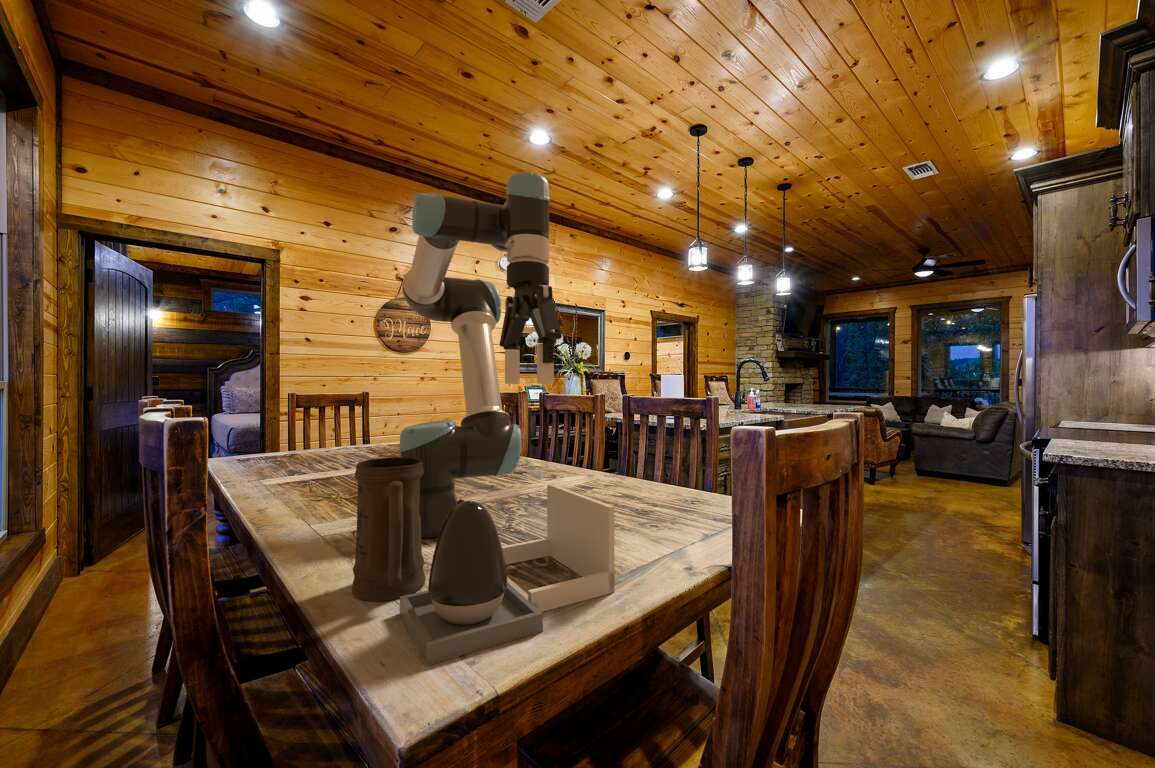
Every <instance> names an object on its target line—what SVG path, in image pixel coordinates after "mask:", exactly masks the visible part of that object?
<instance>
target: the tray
mask: <svg viewBox="0 0 1155 768" xmlns="http://www.w3.org/2000/svg"><path fill="white" fill-rule="evenodd" d="M399 615H400V618H401V619H402V621H403V623H404V625H405V626H406V629H407V632H408V633H409V635H410V637H411V638H412V640H413V642H414V644H415V646H416V649H417V651H418V652H419V654H420V657H421V659H422V660H423V662H424V664H425V666H426V667H428V666H431V665H434V664H439V663H442V662H444V661H449V660H451V659H454V658H455V659H456V658H458V657H461V656H465V655H468V654H472V653H474V652H475V653H476V652H478V651H481V650H485V649H489V648H491V647H495V646H499V645H502V644H506V643H508V642H512V641H515V640H518V639H522V638H525V637H529V636H532V635H535V634H539V633H542V632H543V630H544V629H543V628H544V623H543V622H544V615H543V612H541V611H539V610H538V609H537V608H536V607H535V606H534V605H533V604H531V603H530V602H529V601H528V600H527V599H526V598H525V597H524V596H522V595H521V594H520V593H519V592H518V591H517V590H516V589H514V588H513V587H512V586H511V585H510V584H509V583H508V582H507V589H506V591H505V592H504V596H503V599H502V602H501V604H500V606H499V607H498V609H497V610H496V611H495V612H494V613H493V614H492V615H491V616H490V617H488V618H487V619H485V620H483V621H481V622H478V623H475V624H469V625H459V624H453V623H450V622H448V621H446V620H444V619H443V618H442V617H440V616H439V614H438V613H437V612H436V610H435V608H434V606H433V603H432V599H431V598H430V596H429V593H428V590H424V591H420V592H414V593H412V594H409V595H405V596H400V598H399Z"/></svg>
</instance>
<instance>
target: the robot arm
mask: <svg viewBox="0 0 1155 768" xmlns="http://www.w3.org/2000/svg"><path fill="white" fill-rule="evenodd" d="M549 189H550V186H549V182H548V180H547V178H545V177H544V176H542V175H541V174H538V173H536V172H535V173H534V172H530V171H529V172H526V171H524V172H517V173H514V174H512V175H510V177H508V179H507V182H506V191H505V194H506V201H505V202H504V203H503V204H496V203H492V202H491V203H490V202H484V201H478V200H470V199H467V198H466V199H464V198H461V197H460V198H459V197H454V196H448V195H443V194H439V193H429V192H427V193H426V192H418V193H416V194H415V196H414V197H413V203H412V204H413V205H412V211H411V212H412V213H411V214H412V215H411V217H412V218H411V220H412V221H411V222H412V223H411V224H412V230H413V232H414V234H416V235H417V236H418V238H417V242H416V246H415V251H414V254H413V259H412V262H411V267H410V270H408V271H407V272H406V273H405V276H404V277H403V281H402V285H401V286H402V287H401V288H402V289H401V290H402V294H403V297H404V300H405V302H406V303H407V304H408V305H409V307H410V308H411V309H412V310H413V311H414V312H415V313H417V315H419V316H421V317H422V318H425V319H427V320H429V321H435V322H442V323H450V326H451V330H452V331H453V332H454V333H455V334H457V336H458V338H457V339H458V345H459V354H460V355H459V356H460V366H461V375H462V385H463V394H464V402H465V403H464V406H465V413H466V414H465V415H464V417H462V419H460V420H461V421H460V425H459V426H456V422H455V421H454V420H453V419H451V420H447V419H446V420H445V419H444V420H436V421H428V422H422V423H418V424H413V425H409V426H406V427H405V428H403V429H402V430H401V432H400V434H399V447H398V452H399V457H406V458H416V459H419V460H421V461H422V465H423V470H424V473H423V475H422V476H421V478H420V495H419V498H420V501H419V516H420V518H421V539H428V538H436V537H437V538H438V537H439V534H440V531H441V528H442V526H443V523H444V521H445V519H446V517H447V516H448V514H449V513H450V511H451V510H452V509H453V508H454V507H455V506H456V505H457V501H458V500H459V499H458V497H457V496H456V495H457V494H456V491H455V489H456V488H455V487H456V486H455V480H456V479H465V478H479V477H481V478H482V477H492V476H494V477H497V476H502V475H508V474H512V473H513V472H514V471H515V470H516V469H517V467H518V464H519V462H520V458H521V454H522V453H521V452H522V439H523V438H522V437H523V436H522V432H521V428H520V426H519V425H518V424H515V423H512V422H511V417H510V414H509V413H508V412H506V411H504V410H503V405H502V399H501V392H500V391H501V390H500V384H499V376H498V369H497V361H496V356H495V347H494V341H493V334H492V331H494V329H495V328H496V325H497V324H498V323H499V321H500V319H501V315H502V308H501V305H502V299H501V296H500V292H499V290H498V288H497V286H496V285H495V284H494V283H493V282H491V281H488V280H487V281H486V280H482V279H477V278H476V279H467V278H457V277H448V276H446V275H447V273H448V270H449V268H450V264H451V262H452V259H453V257H454V254H455V252H456V249H457V247H458V245H459V242H461V241H462V242H468V243H469V242H470V243H478V244H485V245H491V246H492V247H493V248H495V249H496V250H497V251H500V252H506V261H507V263H508V265H507V266H506V285H507V286H508V287H509V288H511V289H513V290H514V296H507V297H506V298H505V299H506V302H505V312H504V318H503V323H502V328H501V334H500V339H499V347H501V348H503V350H504V384H505V385H520V383H521V381H520V377H521V375H520V372H521V371H520V369H521V368H520V366H521V363H520V361H521V359H520V358H521V351H520V350H521V347H520V341H521V338H522V336H523V333H524V329H525V326H526V323H527V322H529V321H530V320H531V322H532V325H533V328H534V330H535V332H536V335H537V340H536V345H537V347H536V350H537V352H536V356H537V357H536V365H537V366H536V382H537V383H536V384H537V385H539V384H540V385H543V384H545V385H546V384H548V385H550V384H551V385H552V384H555V379H554V378H555V374H554V373H555V361H554V358H555V356H554V355H555V354H554V353H555V345H556V343H557V341H558V340H561V339H562V337H563V334H562V330H561V326H560V322H559V318H558V314H557V310H556V305H555V302H554V297H553V287H552V286H551V285H550V267H549V265H548V264H549V263H550V201H551V198H550V190H549Z"/></svg>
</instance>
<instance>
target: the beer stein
mask: <svg viewBox="0 0 1155 768" xmlns="http://www.w3.org/2000/svg"><path fill="white" fill-rule="evenodd" d="M423 473H424V470H423V465H422V461H421V460H419V459H416V458H406V457H400V456H396V457H395V456H394V457H381V458H380V457H379V458H372V459H367V460H362V461H360V462H357V464H356V467H355V471H354V478H355V479H356V481H357V501H356V502H357V503H356V504H357V505H356V536H355V554H354V555H355V556H354V557H355V558H354V564H353V568H352V574H353V581H352V584H351V585H352V586H351V594H352V595H353V596H354V597H355V598H357V599H359V600H363V601H368V602H383V601H393V600H397V599H400V596H405V595H409V594H414V593H417V592H418V591H419V590H421V589H422V588H423V586H425V584H426V581H427V580H426V574H425V570H424V565H425V559H424V556H423V550H422V549H423V548H422V538H421V518H420V516H419V501H420V498H419V495H420V478H421V476H422V475H423Z"/></svg>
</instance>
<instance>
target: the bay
mask: <svg viewBox="0 0 1155 768" xmlns="http://www.w3.org/2000/svg"><path fill="white" fill-rule="evenodd" d="M546 486H547V487H546V488H547V489H546V490H547V492H546V493H547V496H546V497H547V498H546V499H547V503H546V505H547V507H546V511H547V512H546V517H547V519H546V521H547V522H546V525H547V526H546V528H547V529H546V530H547V532H546V533H547V534H546V536H547V537H546V538H541V539H535V540H529V541H524V542H518V543H512V544H509V545H507V544H506V545H502V549H503V554H504V559H505V565H506V566H507V565H511V564H517V563H522V562H526V561H530V560H531V561H532V560H535V559H540V558H547V557H551V558H552V559H554V560H556V561H557V562H558V563H561V564H562V565H564V566H565V567H567V568H568V569H570V570H572V571H573V572H575V573H576V574H577V575H579V576H580V577H577V578H574V579H573V578H572V579H569V580H568V579H567V580H565V581H561V582H557V583H552V584H548V585H545V586H541V587H536V588H532V589H528V590H527V592H526V591H524V590H523V589H522V588H521V587H520V586H519V585H518V584H516V582H514V581H513V580H512V579H510V578H509V577H508V576H507V582H508V583H509V584H510V585H511V586H512V587H513V588H514V589H516V590H517V591H518V592H519V593H520V594H521V595H522V596H524V597H525V598H526V599H527V600H528V601H529V602H530V603H531V604H533V605H534V606H535V607H536V608H537V609H538V610H539V611H541V612H542V613H543V612H546V611H550V610H554V609H558V608H561V607H565V606H569V605H572V604H576V603H577V604H578V603H581V602H584V601H587V600H590V599H591V600H592V599H594V598H597V597H601V596H605V595H609V594H614V593H615V505H611V504H609V503H605V502H603V501H600V500H598V499H594V498H592V497H590V496H586V495H583V494H581V493H578V492H575V491H573V490H570V489H567V488H565V487H562V486H559V485H556V484H553V483H548V484H546Z"/></svg>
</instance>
